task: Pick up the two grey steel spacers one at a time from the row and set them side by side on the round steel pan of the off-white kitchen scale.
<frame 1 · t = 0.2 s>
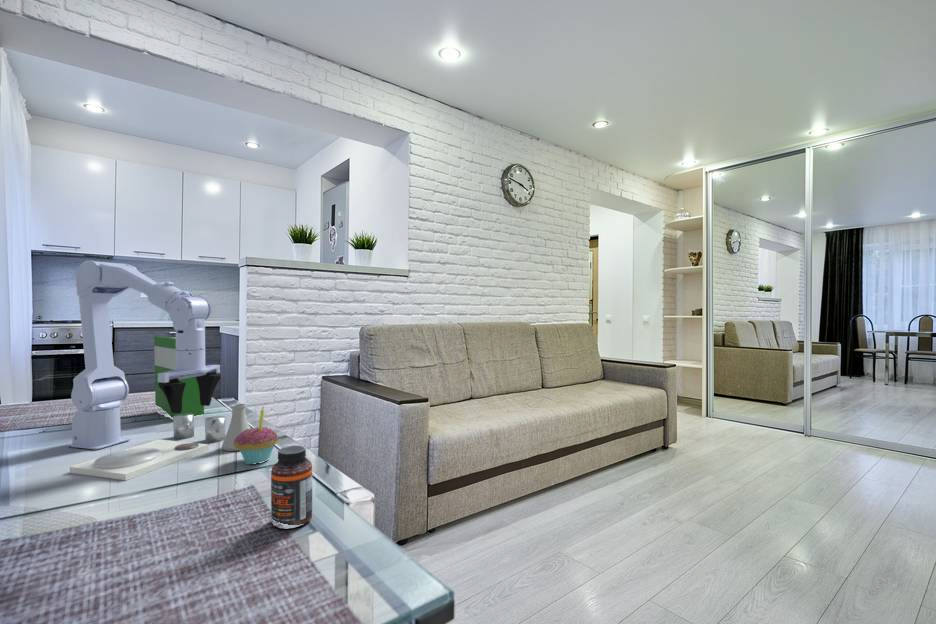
hand: (191, 409, 102), 10 cm above the table, tool pointing down, fingers open, 7 cm apart
supplement bottle: (292, 523, 69), on the table
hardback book: (179, 415, 138), on the table
cupcake: (256, 462, 96), on the table
scale: (144, 460, 97), on the table
flask: (239, 448, 106), on the table
spacer 1: (183, 436, 115), on the table
spacer 2: (215, 440, 112), on the table
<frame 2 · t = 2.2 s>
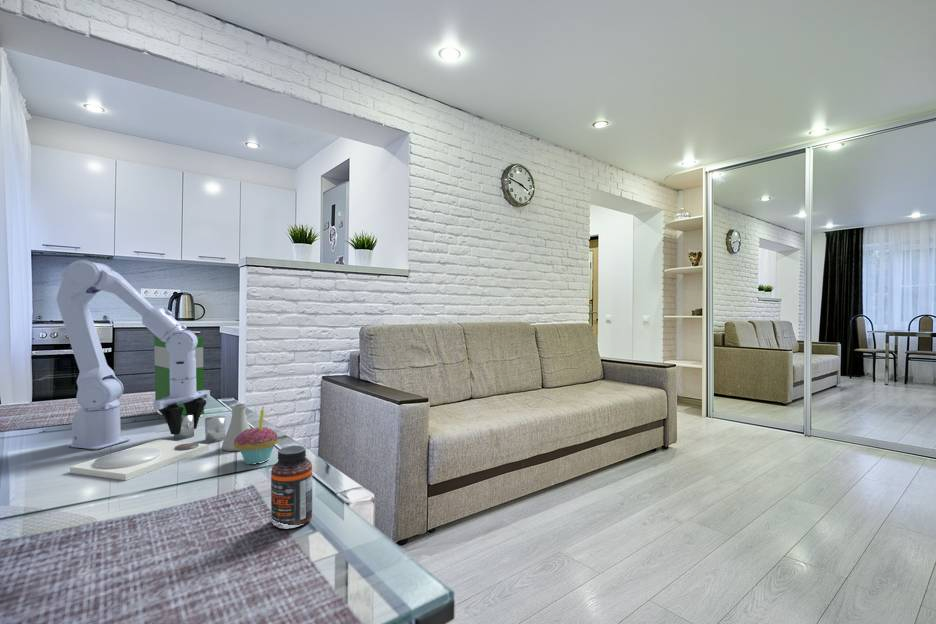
hand: (183, 431, 114), 1 cm above the table, tool pointing down, fingers closed on spacer 1, 4 cm apart
spacer 1: (184, 436, 115), on the table, touching gripper
everything else where it was.
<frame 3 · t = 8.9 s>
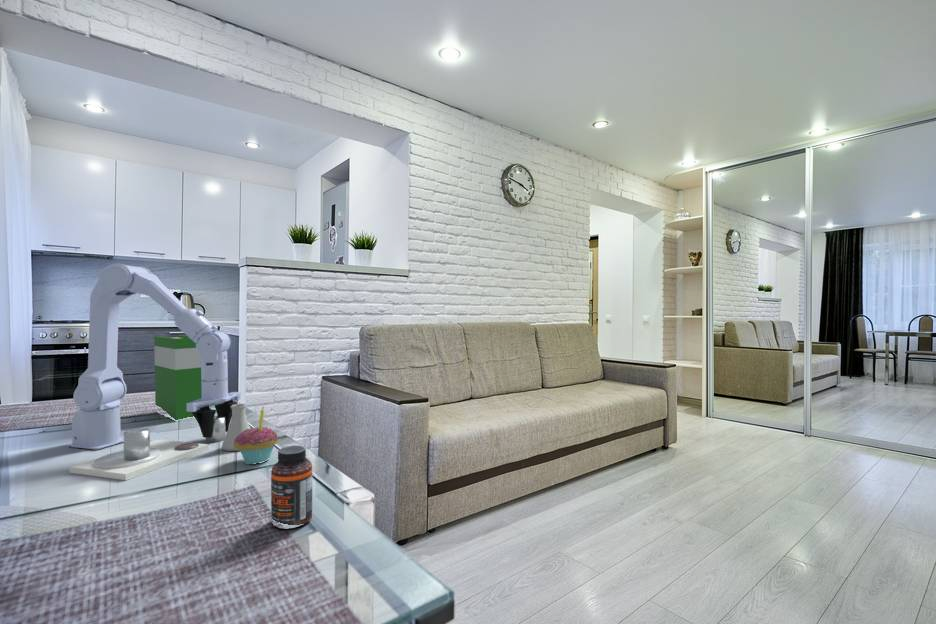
hand: (215, 434, 112), 1 cm above the table, tool pointing down, fingers closed on spacer 2, 4 cm apart
spacer 1: (137, 457, 94), point 2 cm above the table, touching scale
spacer 2: (215, 439, 112), on the table, touching gripper
everything else where it was.
when the fingers open (4 cm above the table, at t = 12.1 s): spacer 2 stays where it is, resting on scale.
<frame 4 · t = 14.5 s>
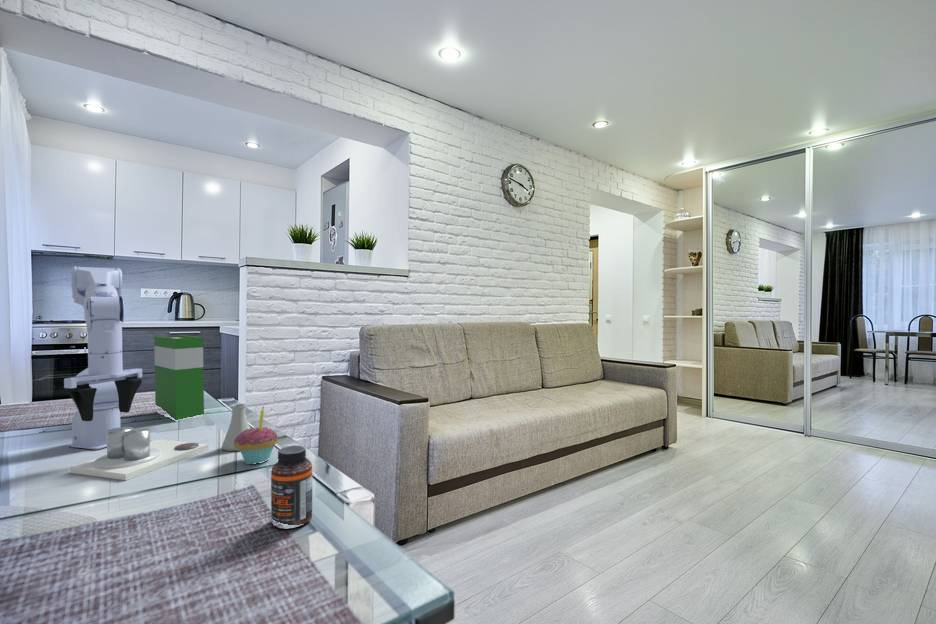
hand: (106, 416, 96), 10 cm above the table, tool pointing down, fingers open, 7 cm apart
spacer 2: (120, 455, 95), point 2 cm above the table, touching scale
everything else where it was.
at the end: spacer 1 inside the target area on the scale (2.4 cm from its centre), point 1.8 cm above the scale's base; spacer 2 inside the target area on the scale (2.3 cm from its centre), point 1.8 cm above the scale's base; spacer 2 tilted 0° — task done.
